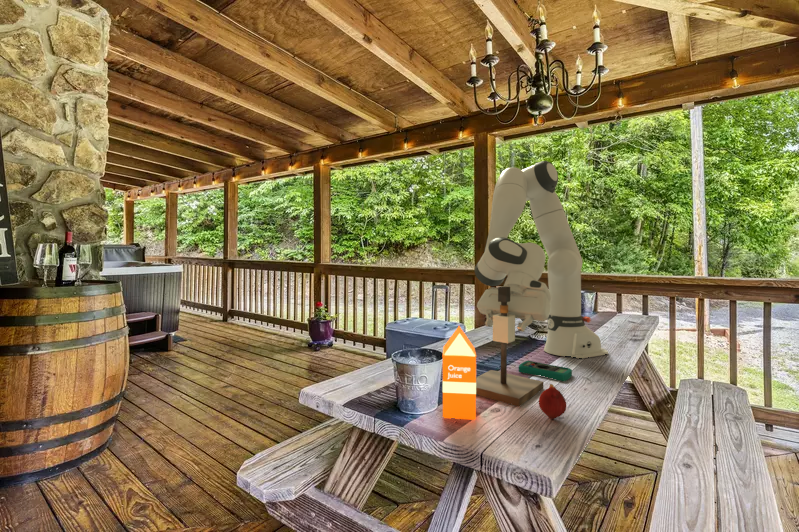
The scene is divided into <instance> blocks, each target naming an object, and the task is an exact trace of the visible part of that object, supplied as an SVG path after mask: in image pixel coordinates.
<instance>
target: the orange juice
mask: <svg viewBox="0 0 799 532" xmlns="http://www.w3.org/2000/svg"><path fill="white" fill-rule="evenodd" d="M476 377H477V353H476V348H475V346H474V345H473V344H472V342H471V341H470V339H469V338H468V336H467V335H466V333H465V332H464V330H463V328H462V327H461V326H460V325H458V327H457V328H456V329H455V331H454V332H453V333H452V335H451V336H450V337H449V339H448V340H447V342H446V343H445V344H444V345H443V348H442V418H443V417H444V418H443V419H451V418H455V419H456V420H469V421H470V420H471V421H477V416H476V415H477V412H476V411H477V403H476V402H477V395H476ZM455 419H454V420H455Z"/></svg>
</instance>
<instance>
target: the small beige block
mask: <svg viewBox="0 0 799 532" xmlns="http://www.w3.org/2000/svg"><path fill="white" fill-rule="evenodd" d="M492 321H493V325H492V341H493V342H498V343H501V342H503V343H507V344H510V343H513V342H515V341H516V318H515V315H510V314H507V316H501V313H500V314H496V315H493V317H492Z"/></svg>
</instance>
